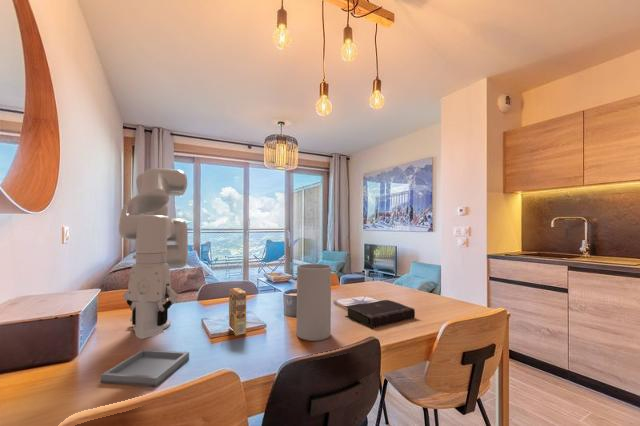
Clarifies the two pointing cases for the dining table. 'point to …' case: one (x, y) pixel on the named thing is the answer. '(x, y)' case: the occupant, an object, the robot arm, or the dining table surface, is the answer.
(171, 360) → the tray
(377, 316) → the diary
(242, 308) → the candy box
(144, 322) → the skincare box
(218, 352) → the dining table surface
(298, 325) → the cylinder vase
